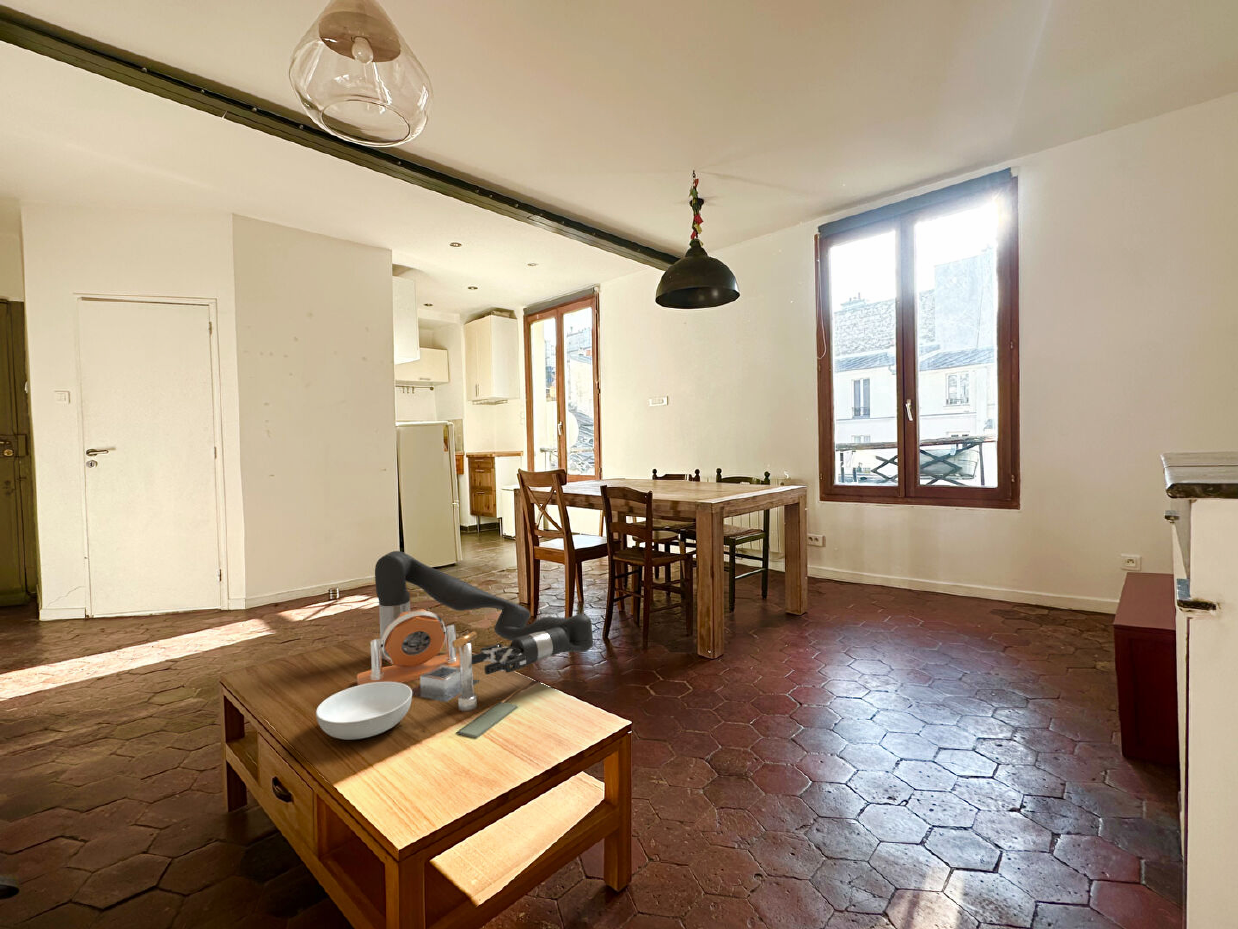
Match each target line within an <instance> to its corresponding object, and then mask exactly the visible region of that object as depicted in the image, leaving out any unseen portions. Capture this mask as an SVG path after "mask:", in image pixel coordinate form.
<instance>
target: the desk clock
mask: <svg viewBox="0 0 1238 929" xmlns="http://www.w3.org/2000/svg"><path fill="white" fill-rule="evenodd" d="M442 627H443V628H442ZM456 637H457V636H456V625H455V624H451V625H447V626H445V623H444V621H443V619H442V618H441V617H440V616H439V615H438V614H436V613H435V612H434V613H433V612H431V611H427V610H426V609H424V608H423V609H422V608H421V609H417V610H413V611H412V610H410V612H403V613H401V614H400V615H399V616H398V617H397V618H396V619H395V620H394V621H393V622H392V623H391V624H390V625H389V626H387V628H386V630H385V633H384V635H383V637H382V641H381V638H376V639H373V640H371V641H370V658H371V659H370V663H371V664H370V665H371V669H369V670H367V671H366V670H365V671H363V672H359V673H358V674H357V675H356V684H357V686H358V685H363V684H368V683H375V682H397V683H402V684H405V683H407V682H408V683H409V682H412V681H416V680H420V676H421V675H423V674H425V673H427V672H429V671H431V670H433V669H435V668H437V667H439V666H440V665H446V666H452V667H458V668H460V660H459V651H457V648H454V647H453V646H452V642H453V641H454V640H456V639H457V638H456ZM445 644H446V653H444V654H440V655H439V653H440V652H441V650H442V648H444V645H445ZM384 647H385V650H386V651H387V653H388V654H389V656H390V658H389V657H388V656H387V655H386V653H385V652H384ZM381 648H382V651H383V654H384V656H385V658H386V659H387V660H386V661H387V662H388V663H389V664H390V665H388V666H384V667H383V662H382V661H383V659H382V654H381Z"/></svg>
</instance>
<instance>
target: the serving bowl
mask: <svg viewBox="0 0 1238 929" xmlns="http://www.w3.org/2000/svg"><path fill="white" fill-rule="evenodd" d="M412 698H413V695H412V689H411V687H410V686H408V685H407V684H405V683H397V682H375V683H368V684H363V685H358V684H357V685H356V686H352V687H348V688H346V689H342V690H341V691H339V692H336V693H334V694H332V695H330V696H328V697H327V698H326V699H324V700H323V701H322V702H321V703H320V704H319V705H318V706H317V708H316V710H315V716H316V721H317V723H318V725H319V727H320V729H321V730H322V731H324V732H323V733H326V734H327V735H328V736H330V737H332V738H336V739H338V740H339V739H341V740H348V741H349V740H361V739H365V738H366V739H367V738H371V737H374V736H377V735H379V734H383V733H384V732H386V731H388V730H390V729H392V728H393V727H395V726H396V725H398V723H400V722H401V721H402V720H403V719H404V717H405V716H406V714H407V713H408V711H409V709H410V707H411V703H412V701H413V699H412Z"/></svg>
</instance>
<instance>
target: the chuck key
mask: <svg viewBox="0 0 1238 929" xmlns="http://www.w3.org/2000/svg"><path fill="white" fill-rule="evenodd" d="M477 638H478V635H477V632H476V631H475V630H474V631H471V632H468V633H466V634H464V635H462V636H461V637H458V638H456V640H454V641H453V642H452V646H453V647H454V648H456V649H458V652H459V660H460V684H461V693H460V694H459V695H458V698H457V702H458V703H457V704H458V710H460V711H461V712H462V711H463V712H466V711H467V712H468V711H472V710H474V709H476V708H477V705H478V704H477V694H476V693H475V692H474V685H473V679H474V678H473V676H474V675H473V665H472V655H473V654H472V641H474V640H476V639H477Z"/></svg>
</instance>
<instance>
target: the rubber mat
mask: <svg viewBox="0 0 1238 929" xmlns="http://www.w3.org/2000/svg"><path fill="white" fill-rule="evenodd" d="M518 708H519V707H518V705H517V704H512V703H508V702H503V701H499V702H497V703H496V704H494V705H493V706H492V707H490V708H489V709H488V710H486V711H484V712H483V713H481V714H480V715H479V716H477V717H476V718H475V719H473V720H471V721H470V722H469V723H467V724H466V725H464V726H463V727H461V728H460V729H459V730H458V731H456V732H455V734H458V735H461V736H467V737H470V738H474V739H478V738H479V737H480V736H482V735H483V734H485V733H486V732H487V731H489V730H490V729H491V728H493V727H494V726H495V725H497V724H498V723H499V722H501V721H502V720H503V719H504V718H506V717H507V716H509V715H510V714H511V713H512V712H514V711H516V710H517V709H518Z"/></svg>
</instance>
